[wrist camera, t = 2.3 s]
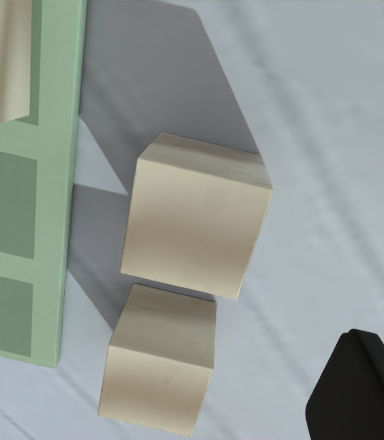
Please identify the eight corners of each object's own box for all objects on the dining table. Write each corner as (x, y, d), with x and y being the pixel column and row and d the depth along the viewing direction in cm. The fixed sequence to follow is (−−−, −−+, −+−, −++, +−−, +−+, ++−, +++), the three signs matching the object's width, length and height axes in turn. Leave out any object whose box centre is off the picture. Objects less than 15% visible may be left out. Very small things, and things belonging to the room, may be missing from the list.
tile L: (160, 131, 17) (136, 157, 13) (261, 155, 17) (274, 189, 13) (144, 222, 19) (118, 273, 15) (234, 243, 19) (236, 300, 15)
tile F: (133, 282, 21) (107, 344, 16) (216, 302, 21) (214, 369, 17) (122, 345, 23) (96, 416, 19) (198, 363, 23) (191, 437, 19)
